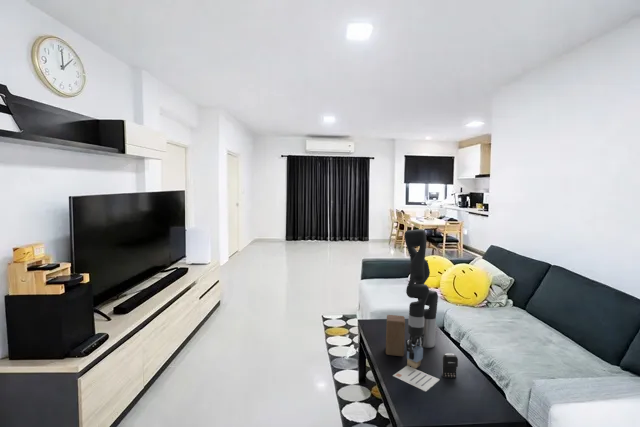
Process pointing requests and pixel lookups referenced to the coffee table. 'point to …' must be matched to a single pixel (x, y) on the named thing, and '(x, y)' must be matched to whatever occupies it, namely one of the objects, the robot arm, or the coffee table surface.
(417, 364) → the oak block
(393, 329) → the wooden block
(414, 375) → the letter
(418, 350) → the blue cube
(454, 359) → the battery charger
